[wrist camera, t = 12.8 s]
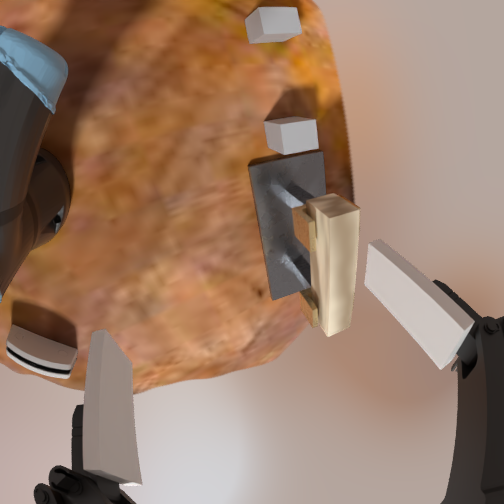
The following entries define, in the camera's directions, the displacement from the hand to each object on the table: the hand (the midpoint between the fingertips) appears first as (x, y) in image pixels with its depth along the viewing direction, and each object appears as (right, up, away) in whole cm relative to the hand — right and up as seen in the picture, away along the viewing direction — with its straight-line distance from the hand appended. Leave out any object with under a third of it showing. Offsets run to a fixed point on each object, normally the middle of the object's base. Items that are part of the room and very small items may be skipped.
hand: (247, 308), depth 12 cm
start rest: (+3, +27, +20) cm, 33 cm away
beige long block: (+10, +1, +26) cm, 28 cm away
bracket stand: (+7, +6, +34) cm, 35 cm away
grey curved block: (-43, -16, +30) cm, 55 cm away
